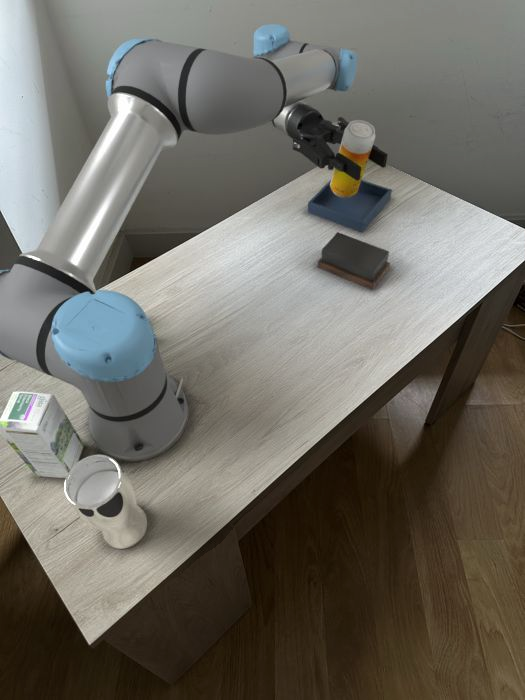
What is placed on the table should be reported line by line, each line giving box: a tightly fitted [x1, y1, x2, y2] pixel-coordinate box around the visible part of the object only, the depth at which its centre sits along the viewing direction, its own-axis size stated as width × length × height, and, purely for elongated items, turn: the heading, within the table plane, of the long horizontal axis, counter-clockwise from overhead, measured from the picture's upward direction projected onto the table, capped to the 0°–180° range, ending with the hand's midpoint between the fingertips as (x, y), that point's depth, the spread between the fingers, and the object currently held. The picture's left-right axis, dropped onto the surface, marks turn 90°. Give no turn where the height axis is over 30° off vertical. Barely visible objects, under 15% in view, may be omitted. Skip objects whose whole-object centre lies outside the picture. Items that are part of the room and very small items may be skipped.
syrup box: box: [0, 391, 85, 479], centre depth 72 cm, size 6×6×14 cm
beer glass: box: [63, 454, 148, 550], centre depth 65 cm, size 7×7×15 cm
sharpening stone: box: [317, 231, 391, 291], centre depth 99 cm, size 12×7×4 cm, turn 56°
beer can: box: [330, 119, 376, 198], centre depth 105 cm, size 6×6×15 cm
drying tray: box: [307, 179, 393, 234], centre depth 112 cm, size 13×13×3 cm
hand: (372, 167), depth 101 cm, fingers closed on beer can, 6 cm apart
